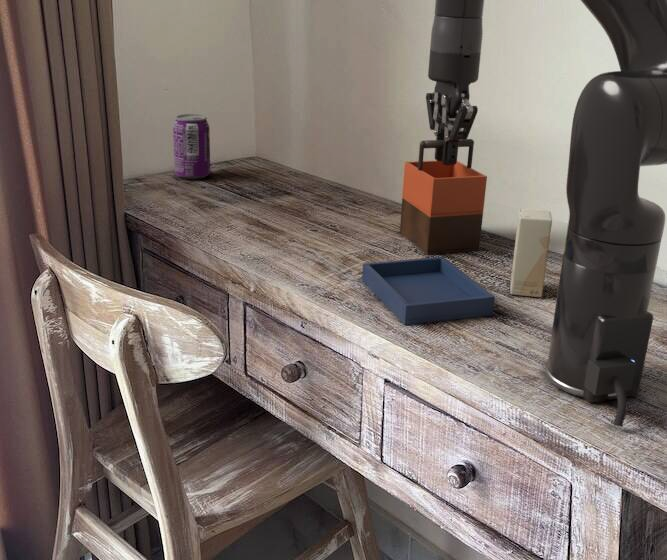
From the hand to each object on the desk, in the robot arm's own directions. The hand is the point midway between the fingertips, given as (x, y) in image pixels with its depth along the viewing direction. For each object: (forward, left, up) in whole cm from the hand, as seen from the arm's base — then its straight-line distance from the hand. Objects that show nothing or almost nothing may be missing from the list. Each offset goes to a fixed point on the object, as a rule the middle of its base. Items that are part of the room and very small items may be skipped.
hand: (445, 162), depth 127 cm
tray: (-21, +12, -13) cm, 27 cm away
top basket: (0, 0, -7) cm, 7 cm away
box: (-22, -3, -13) cm, 26 cm away
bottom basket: (0, 0, -13) cm, 13 cm away
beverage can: (+48, +32, -13) cm, 59 cm away
